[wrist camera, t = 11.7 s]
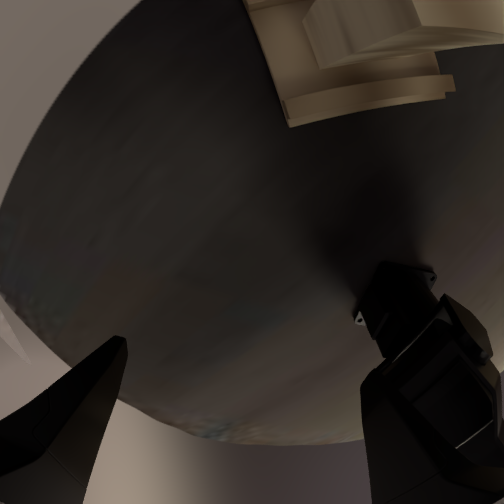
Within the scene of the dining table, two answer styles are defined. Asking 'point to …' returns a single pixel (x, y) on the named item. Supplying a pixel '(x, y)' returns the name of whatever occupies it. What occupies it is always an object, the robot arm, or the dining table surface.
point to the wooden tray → (335, 70)
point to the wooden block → (398, 28)
